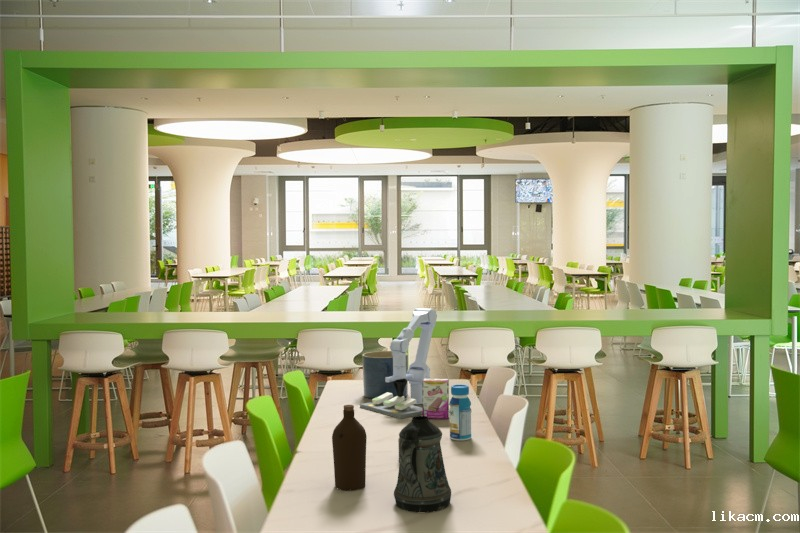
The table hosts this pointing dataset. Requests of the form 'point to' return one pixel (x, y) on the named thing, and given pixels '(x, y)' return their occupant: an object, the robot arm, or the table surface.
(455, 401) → the beverage bottle
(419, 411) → the switch unit
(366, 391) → the planter
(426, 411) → the candy bar box
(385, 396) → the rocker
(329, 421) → the table surface
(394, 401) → the block
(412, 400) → the rocker
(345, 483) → the olive oil
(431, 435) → the beer stein
